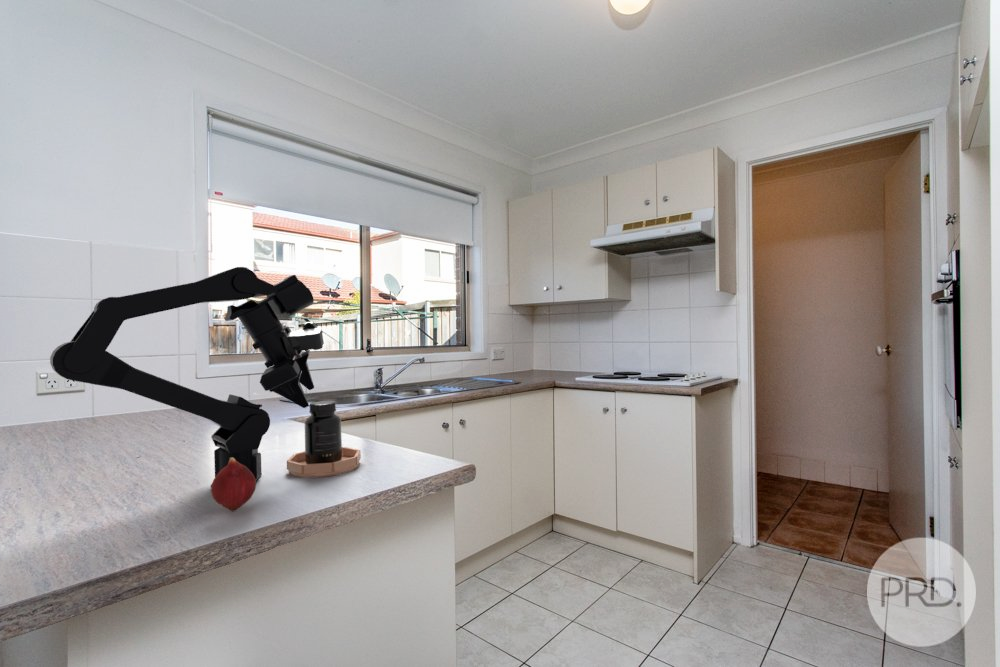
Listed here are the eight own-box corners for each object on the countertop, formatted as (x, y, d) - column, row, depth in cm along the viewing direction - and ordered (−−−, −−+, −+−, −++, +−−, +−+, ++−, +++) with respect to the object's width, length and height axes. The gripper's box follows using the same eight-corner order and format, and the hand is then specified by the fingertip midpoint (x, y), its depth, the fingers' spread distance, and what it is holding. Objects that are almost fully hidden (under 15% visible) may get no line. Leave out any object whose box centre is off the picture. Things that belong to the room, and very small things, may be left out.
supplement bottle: (302, 461, 95) (301, 402, 95) (337, 456, 99) (336, 399, 99) (308, 470, 89) (307, 406, 89) (345, 464, 93) (344, 403, 93)
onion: (264, 504, 74) (262, 452, 74) (240, 518, 68) (239, 463, 68) (229, 503, 75) (228, 452, 75) (202, 517, 69) (201, 462, 69)
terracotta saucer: (280, 479, 86) (280, 466, 86) (299, 460, 99) (298, 449, 99) (354, 475, 88) (354, 462, 88) (363, 456, 101) (363, 445, 101)
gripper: (299, 323, 82) (344, 396, 87) (312, 301, 99) (348, 364, 104) (237, 352, 80) (287, 425, 86) (261, 325, 98) (301, 387, 103)
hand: (309, 397), depth 95 cm, fingers open, 9 cm apart
